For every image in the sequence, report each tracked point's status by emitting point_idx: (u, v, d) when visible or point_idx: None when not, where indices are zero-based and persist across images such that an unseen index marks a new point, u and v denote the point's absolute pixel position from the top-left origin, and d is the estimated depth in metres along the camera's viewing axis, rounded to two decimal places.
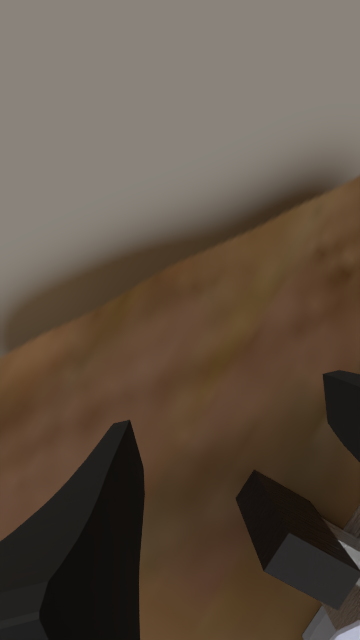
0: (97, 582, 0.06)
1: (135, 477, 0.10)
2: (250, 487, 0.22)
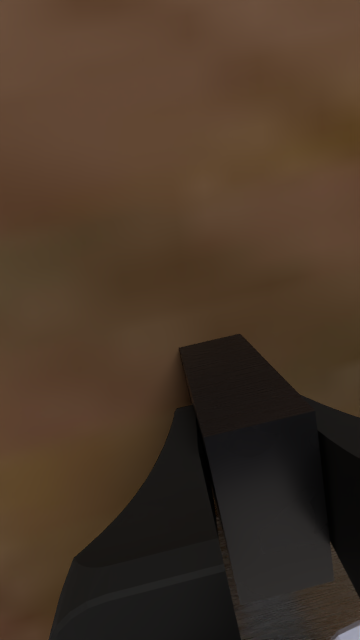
0: None
1: (205, 460, 0.10)
2: (221, 345, 0.12)
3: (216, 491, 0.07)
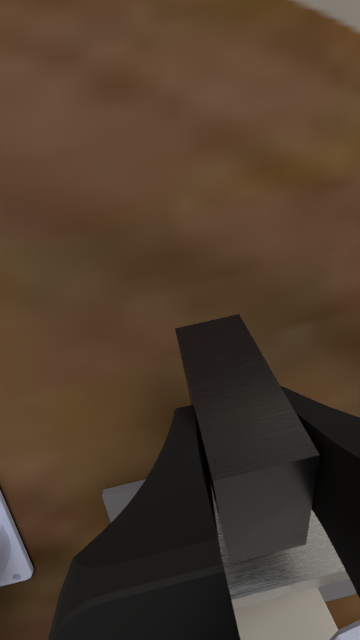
0: None
1: (205, 460, 0.10)
2: (220, 331, 0.11)
3: (219, 510, 0.08)
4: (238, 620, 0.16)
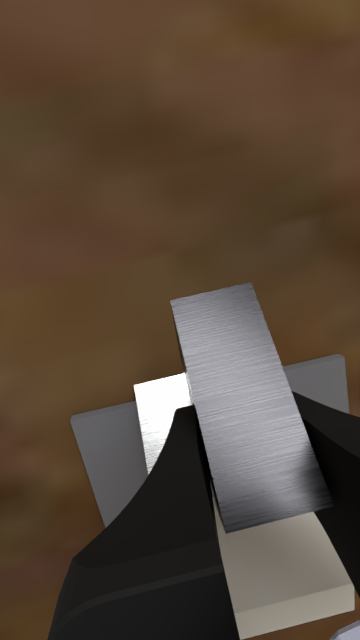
0: None
1: (204, 460, 0.10)
2: (227, 312, 0.09)
3: (222, 521, 0.08)
4: (224, 557, 0.13)
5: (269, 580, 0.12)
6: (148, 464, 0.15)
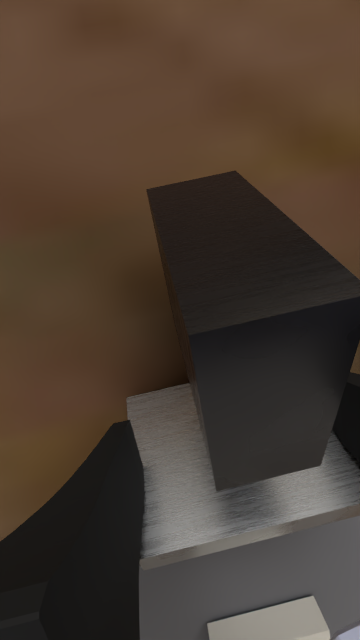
0: (97, 582, 0.06)
1: (135, 477, 0.10)
2: (208, 186, 0.08)
3: (201, 400, 0.05)
4: None
5: None
6: None
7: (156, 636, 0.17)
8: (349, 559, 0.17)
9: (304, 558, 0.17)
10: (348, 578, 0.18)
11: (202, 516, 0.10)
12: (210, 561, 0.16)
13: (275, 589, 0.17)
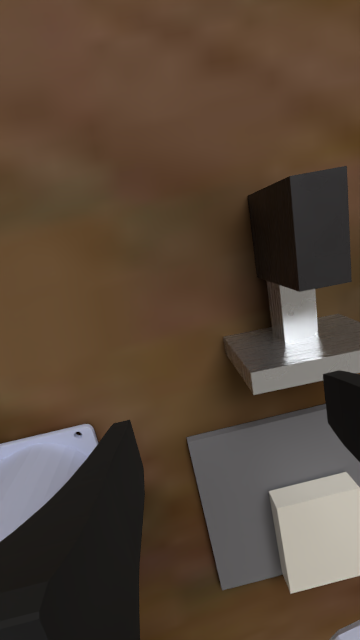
0: (97, 582, 0.06)
1: (135, 477, 0.10)
2: None
3: (293, 211, 0.14)
4: (309, 569, 0.23)
5: (329, 576, 0.24)
6: (241, 358, 0.17)
7: (230, 501, 0.24)
8: None
9: (340, 442, 0.23)
10: None
11: (288, 358, 0.16)
12: (273, 441, 0.23)
13: (318, 467, 0.24)
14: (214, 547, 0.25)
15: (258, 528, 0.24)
